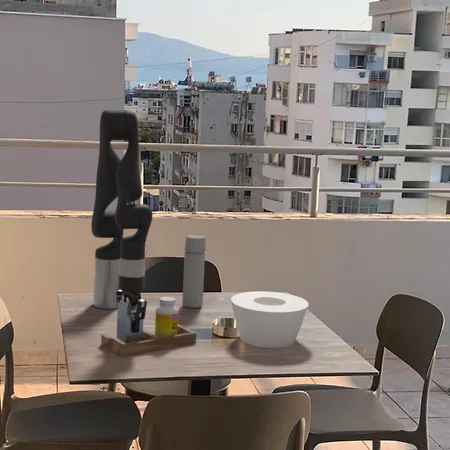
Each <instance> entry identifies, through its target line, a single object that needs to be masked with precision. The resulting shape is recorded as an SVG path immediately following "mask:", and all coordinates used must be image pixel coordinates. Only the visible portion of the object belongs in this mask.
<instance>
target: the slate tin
mask: <svg viewBox="0 0 450 450" xmlns="http://www.w3.org/2000/svg"><path fill="white" fill-rule="evenodd" d="M131 307H132V309H133V310H135V309H137V306H130V304H129V303H127V301H123V300H120V302H118V310H117V309H116V310H117V311H116V312H117V314H116V315H117V317H116V339H117V340H119V342H120V341H121V343H122V342H123V343H124V344H128V343H134V342H139V341H143V329H144V319H143V320H140V327H139V328H140V329H139V332H138V333H132V313H131V312H130V309H131ZM141 315H142V313H141ZM135 316H136V312H135Z"/></svg>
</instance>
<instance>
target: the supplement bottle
mask: <svg viewBox="0 0 450 450" xmlns="http://www.w3.org/2000/svg"><path fill="white" fill-rule="evenodd" d="M175 304H176V298H175V297H173V296H162V297H159V305H158V306H157V307H156V308H155V323H154V324H155V325H154V335H155V336H157V337H159V338H162V337H167V336H173V335H177V324H178V321H179V320H178V317H179V316H178V315H179V310H178V307H176V306H175Z"/></svg>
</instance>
